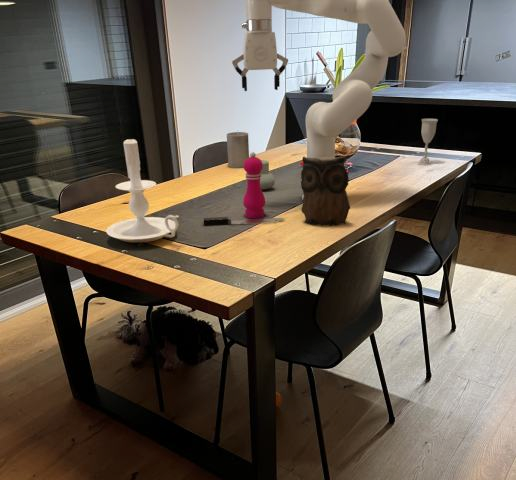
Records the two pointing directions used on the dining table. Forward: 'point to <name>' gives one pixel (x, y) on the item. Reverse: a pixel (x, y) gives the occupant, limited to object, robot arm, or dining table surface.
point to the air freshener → (266, 176)
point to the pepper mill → (253, 188)
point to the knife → (237, 221)
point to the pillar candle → (237, 149)
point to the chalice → (427, 136)
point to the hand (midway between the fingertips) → (260, 90)
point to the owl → (325, 191)
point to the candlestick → (140, 206)
